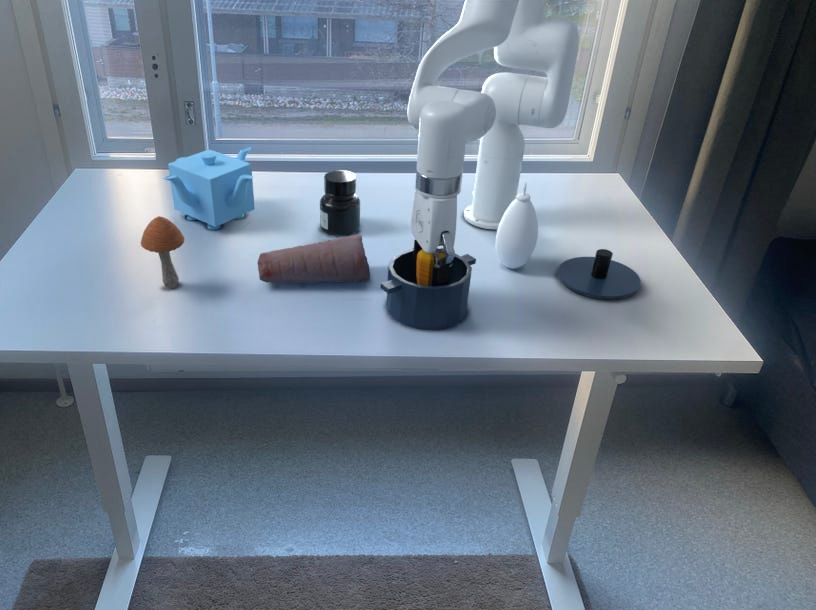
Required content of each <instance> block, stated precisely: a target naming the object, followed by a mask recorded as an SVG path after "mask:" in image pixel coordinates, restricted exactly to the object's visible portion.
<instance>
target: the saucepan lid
mask: <svg viewBox="0 0 816 610" xmlns="http://www.w3.org/2000/svg"><path fill="white" fill-rule="evenodd" d="M556 275H557V278H558V280H559V281H560V282H561V283H562V284H563V285H564V286H565V287H567V289H570V290H571V291H573V292H575V293H578V294H580V295H584V296H586V297H590V298H597V299H603V300H604V299H605V300H616V299H617V300H618V299H624V298H627V297H631V296H633V295H634V294H636V293H637V292H638V291H639V290H640V287H641V285H642V284H641V282H642V281H641V278H640V276H639V274H638V273H637V272H636V271H635V270H633V269H632V268H631V267H629V266H627V265H626V264H623V263H622V262H619V261H616V260H613V252H612V251H611V250H609V249H605V248H599V249H597V250H596V251H595V256H578V257H577V256H576V257H572V258H569V259H566V260H564V261H562V262H561V263H560V264H559V265H558V267H557V273H556Z"/></svg>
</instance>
